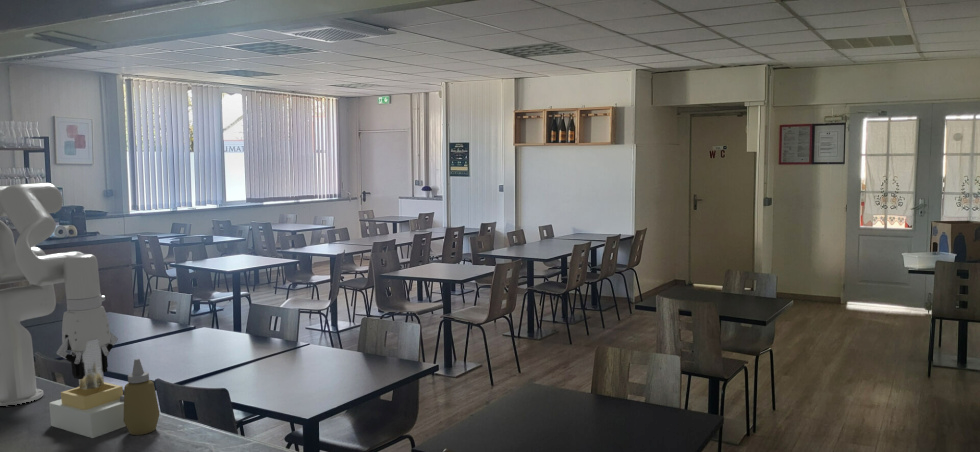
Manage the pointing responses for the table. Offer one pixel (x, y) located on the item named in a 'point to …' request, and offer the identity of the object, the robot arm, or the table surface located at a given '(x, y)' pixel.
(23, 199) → the robot arm
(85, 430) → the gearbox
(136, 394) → the squeeze bottle
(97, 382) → the spout can
